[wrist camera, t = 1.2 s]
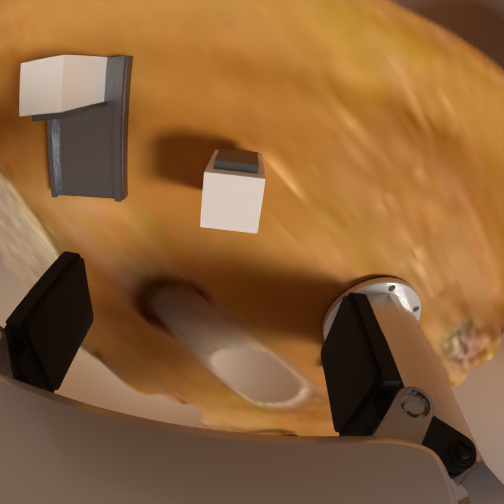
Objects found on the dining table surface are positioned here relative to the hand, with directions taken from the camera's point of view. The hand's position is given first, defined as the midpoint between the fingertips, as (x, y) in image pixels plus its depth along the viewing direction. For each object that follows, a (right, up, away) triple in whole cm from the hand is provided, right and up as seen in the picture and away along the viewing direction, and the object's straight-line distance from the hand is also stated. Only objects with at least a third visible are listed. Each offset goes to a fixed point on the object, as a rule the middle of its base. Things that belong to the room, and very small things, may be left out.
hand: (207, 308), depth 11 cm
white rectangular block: (0, +9, +16) cm, 19 cm away
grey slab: (-13, +13, +14) cm, 23 cm away
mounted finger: (-13, +16, +11) cm, 23 cm away
